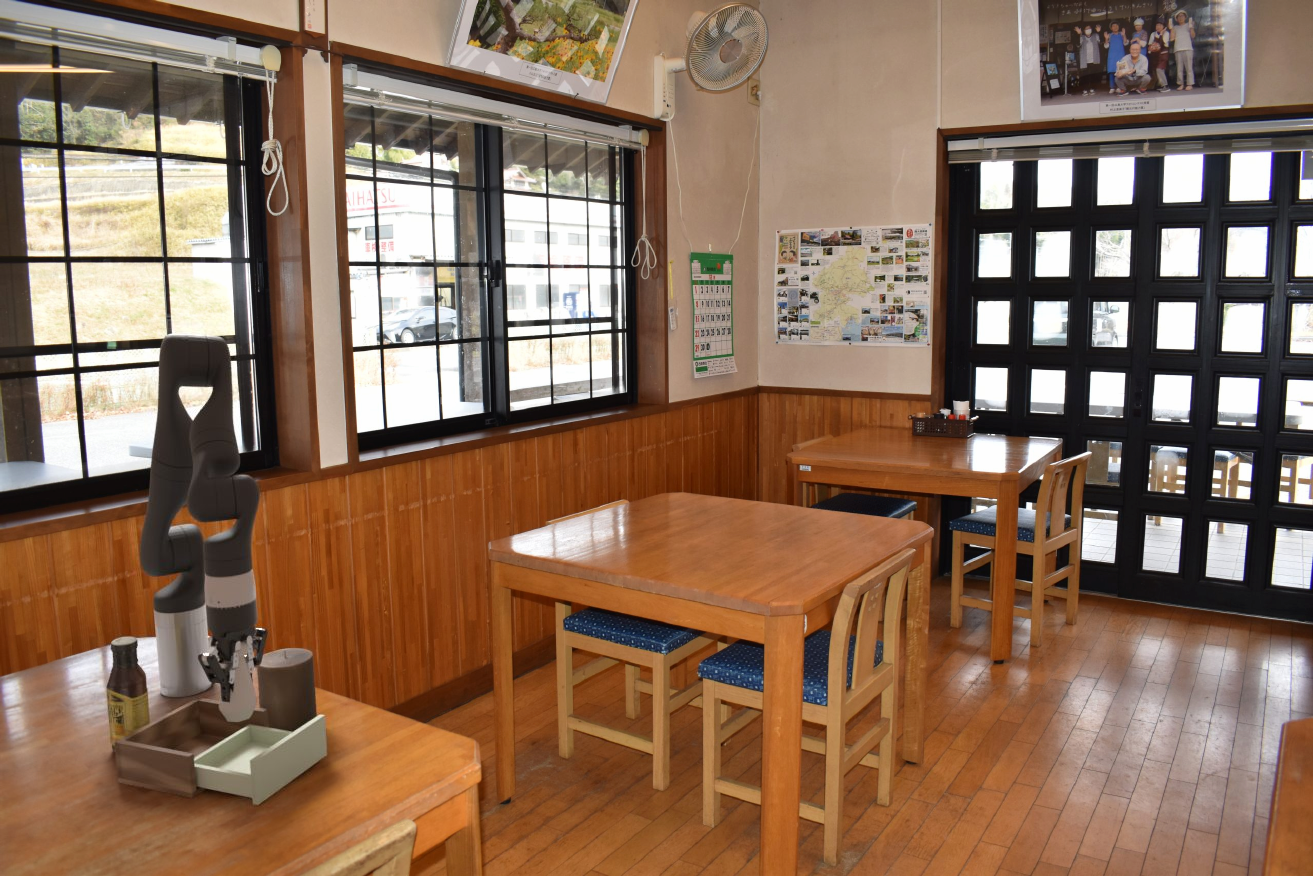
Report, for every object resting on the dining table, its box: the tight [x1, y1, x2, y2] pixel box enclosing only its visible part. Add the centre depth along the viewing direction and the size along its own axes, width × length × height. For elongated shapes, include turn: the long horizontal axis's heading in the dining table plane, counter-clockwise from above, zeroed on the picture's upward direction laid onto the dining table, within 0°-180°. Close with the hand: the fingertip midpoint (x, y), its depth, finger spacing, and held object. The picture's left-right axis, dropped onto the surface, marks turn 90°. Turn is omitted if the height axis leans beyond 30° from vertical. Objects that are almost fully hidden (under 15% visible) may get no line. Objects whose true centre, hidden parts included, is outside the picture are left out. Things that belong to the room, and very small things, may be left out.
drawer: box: [194, 713, 328, 806], centre depth 161 cm, size 17×15×7 cm
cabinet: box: [114, 697, 269, 799], centre depth 165 cm, size 18×15×7 cm
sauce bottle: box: [105, 636, 151, 753], centre depth 170 cm, size 7×6×20 cm
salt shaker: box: [218, 641, 258, 722], centre depth 160 cm, size 6×6×13 cm
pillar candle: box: [256, 647, 318, 732], centre depth 178 cm, size 10×10×15 cm
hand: (237, 698), depth 161 cm, fingers closed on salt shaker, 3 cm apart
